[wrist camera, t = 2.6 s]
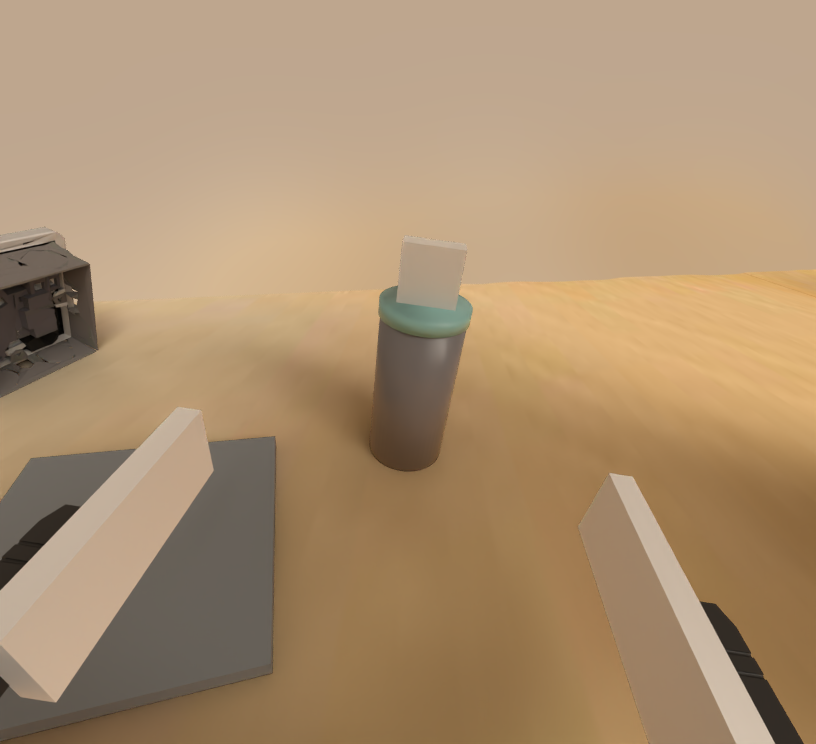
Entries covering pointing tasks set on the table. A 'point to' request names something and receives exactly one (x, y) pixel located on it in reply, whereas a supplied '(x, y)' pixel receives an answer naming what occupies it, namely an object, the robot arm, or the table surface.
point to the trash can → (418, 353)
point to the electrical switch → (42, 307)
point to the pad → (164, 587)
